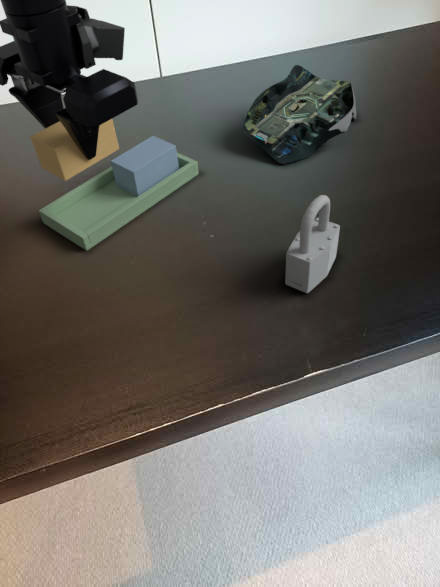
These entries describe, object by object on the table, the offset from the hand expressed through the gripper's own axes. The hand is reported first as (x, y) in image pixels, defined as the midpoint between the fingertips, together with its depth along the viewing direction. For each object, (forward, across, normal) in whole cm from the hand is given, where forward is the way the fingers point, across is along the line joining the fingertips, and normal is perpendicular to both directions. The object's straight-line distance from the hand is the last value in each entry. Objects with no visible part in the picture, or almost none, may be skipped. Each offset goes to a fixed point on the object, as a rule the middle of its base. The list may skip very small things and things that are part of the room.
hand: (78, 151), depth 61 cm
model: (+12, -8, -35) cm, 37 cm away
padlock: (+11, -26, -10) cm, 30 cm away
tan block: (+1, 0, 0) cm, 1 cm away
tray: (+11, +2, -6) cm, 13 cm away
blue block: (+11, +2, -11) cm, 15 cm away
